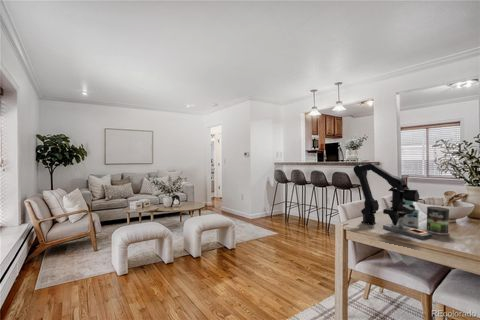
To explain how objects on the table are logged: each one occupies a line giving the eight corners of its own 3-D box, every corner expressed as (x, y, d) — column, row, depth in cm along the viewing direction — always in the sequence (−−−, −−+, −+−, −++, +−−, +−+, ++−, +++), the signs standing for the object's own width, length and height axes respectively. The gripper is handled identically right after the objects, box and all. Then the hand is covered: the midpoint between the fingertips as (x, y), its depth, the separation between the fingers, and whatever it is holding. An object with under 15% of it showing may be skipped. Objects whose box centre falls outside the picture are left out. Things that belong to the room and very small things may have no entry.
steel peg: (391, 229, 147) (392, 216, 147) (395, 228, 149) (396, 215, 149) (398, 231, 144) (398, 217, 144) (402, 230, 146) (402, 217, 145)
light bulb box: (418, 226, 153) (419, 209, 153) (406, 226, 155) (407, 209, 155) (410, 222, 164) (410, 206, 164) (399, 221, 165) (399, 205, 165)
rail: (383, 228, 149) (383, 224, 149) (393, 226, 154) (393, 222, 154) (422, 239, 130) (422, 235, 129) (433, 237, 134) (433, 232, 134)
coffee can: (446, 236, 136) (446, 211, 136) (423, 231, 144) (424, 207, 144) (450, 232, 142) (451, 208, 142) (429, 228, 150) (429, 205, 150)
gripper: (402, 202, 135) (401, 230, 135) (421, 200, 143) (420, 226, 143) (382, 199, 145) (382, 225, 145) (401, 197, 153) (401, 221, 153)
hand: (397, 224), depth 146 cm, fingers closed on steel peg, 4 cm apart
